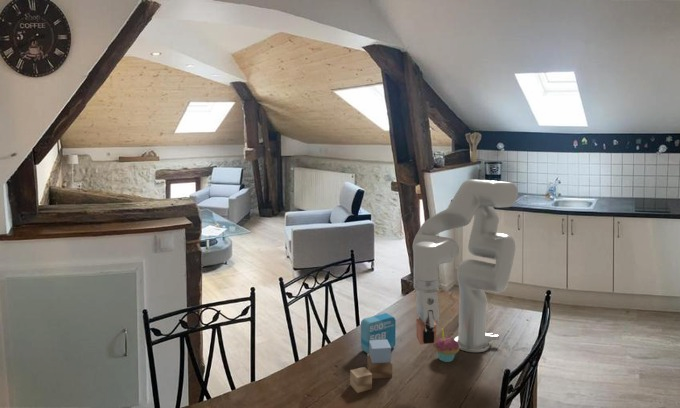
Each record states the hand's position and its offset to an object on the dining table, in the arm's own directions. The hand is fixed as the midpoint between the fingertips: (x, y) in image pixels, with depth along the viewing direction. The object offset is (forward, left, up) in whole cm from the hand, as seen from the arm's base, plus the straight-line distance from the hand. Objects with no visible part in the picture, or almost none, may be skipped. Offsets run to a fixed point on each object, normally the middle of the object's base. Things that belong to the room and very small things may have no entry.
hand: (426, 337), depth 154 cm
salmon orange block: (0, 0, -1) cm, 1 cm away
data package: (+12, -22, -15) cm, 29 cm away
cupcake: (-10, -13, -15) cm, 22 cm away
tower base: (+14, -7, -15) cm, 21 cm away
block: (+21, +2, -15) cm, 25 cm away
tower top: (+13, -7, -10) cm, 18 cm away
